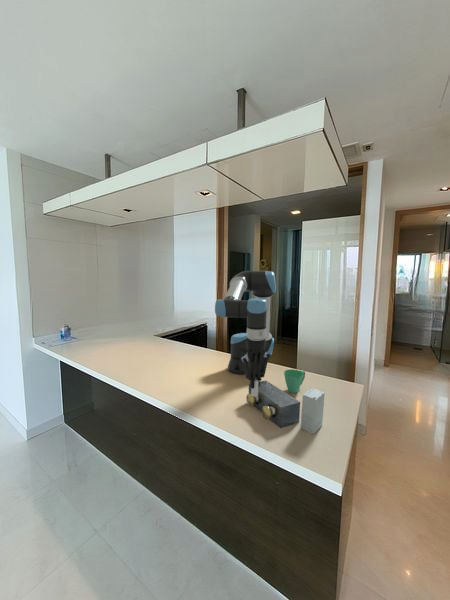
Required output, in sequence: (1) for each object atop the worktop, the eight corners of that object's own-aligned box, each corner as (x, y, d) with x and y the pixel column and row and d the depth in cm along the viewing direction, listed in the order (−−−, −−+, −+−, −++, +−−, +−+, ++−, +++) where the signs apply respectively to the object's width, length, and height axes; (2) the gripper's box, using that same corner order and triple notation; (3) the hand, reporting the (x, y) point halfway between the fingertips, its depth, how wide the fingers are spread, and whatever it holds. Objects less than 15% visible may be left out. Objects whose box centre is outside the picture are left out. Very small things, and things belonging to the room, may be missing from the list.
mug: (295, 397, 132) (296, 378, 131) (279, 390, 139) (280, 372, 138) (310, 388, 142) (311, 370, 140) (295, 382, 149) (295, 365, 148)
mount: (248, 401, 126) (248, 384, 125) (265, 397, 131) (265, 380, 130) (280, 428, 105) (281, 407, 104) (299, 422, 110) (300, 401, 109)
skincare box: (309, 420, 111) (311, 387, 110) (323, 426, 107) (325, 391, 106) (300, 428, 105) (301, 393, 104) (314, 435, 101) (316, 398, 100)
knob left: (246, 402, 121) (246, 392, 121) (268, 397, 127) (268, 387, 127) (252, 407, 117) (252, 397, 116) (274, 401, 123) (274, 391, 122)
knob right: (261, 415, 111) (261, 404, 110) (284, 408, 117) (284, 398, 116) (268, 421, 106) (268, 410, 106) (292, 414, 112) (292, 403, 112)
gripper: (247, 342, 96) (245, 403, 99) (275, 338, 102) (273, 395, 105) (236, 337, 102) (235, 394, 106) (264, 334, 108) (262, 387, 112)
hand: (254, 394), depth 105 cm, fingers closed
